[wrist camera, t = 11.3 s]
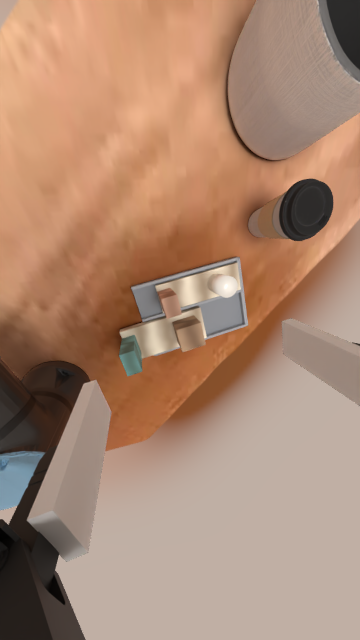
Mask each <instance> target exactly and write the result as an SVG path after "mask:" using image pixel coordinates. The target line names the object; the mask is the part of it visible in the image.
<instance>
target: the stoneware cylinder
mask: <svg viewBox="0 0 360 640" xmlns="http://www.w3.org/2000/svg"><path fill="white" fill-rule="evenodd" d="M207 285H208V288H209V290H210V291H212V292H214V293H216V294H218V295H220V296H222V297H224V298H228V297H231V296H233V295H234V294H235V293H236V291H237V288H238V284H237V281H236V279H235V278H234V277H231V276H227V275H223V274H218V273H217V274H213V275H212V276H210V278H209V279H208V283H207Z"/></svg>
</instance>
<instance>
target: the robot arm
mask: <svg viewBox="0 0 360 640" xmlns="http://www.w3.org/2000/svg"><path fill="white" fill-rule="evenodd" d="M282 338H283V354H284V355H285V356H287V357H288V358H290V359H291V360H293V361H294V362H296V363H297V364H298V365H300V366H301V367H303V368H304V369H306V370H307V371H309V372H310V373H312V374H313V375H315V376H316V377H318V378H319V379H321V380H322V381H324V382H325V383H327V384H328V385H330V386H331V387H332V388H334V389H335V390H337V391H338V392H340V393H341V394H343V395H344V396H346V397H347V398H349V399H350V400H352V401H353V402H355V403H356V404H358V405H359V406H360V344H357V343H351V342H348V341H346V340H343V339H341V338H339V337H336V336H334V335H331V334H329V333H326V332H324V331H321V330H319V329H316V328H314V327H312V326H309V325H306V324H304V323H302V322H299V321H297V320H294V319H292V318H291V319H288V320H285V321H282ZM0 358H1V357H0ZM110 418H111V410H110V408H109V406H108V404H107V402H106V399H105V397H104V395H103V393H102V391H101V389H100V387H99V385H98V383H97V380H94V381H91V382H90V380H89V378H88V376H87V375H86V373H85V372H84V371H83V370H82V369H80V368H79V367H77V366H75V365H73V364H70V363H67V362H62V361H51V362H45V363H42V364H40V365H37V366H36V367H34V368H33V369H31V370H30V371H29V372H28V373H27V374H26V375H25V377H24V378H23V379H22V381H20V380H19V379H18V378H17V377H16V376H15V374H14V373H13V372H12V371H11V370H10V369H9V368H8V367H7V365H6V364H5V363H4V362H3V361H2V360H1V359H0V510H4V509H8V508H12V507H14V506H17V505H18V506H17V508H16V511H15V513H14V515H13V517H12V519H11V521H10V523H9V525H8V524H7V523H6V522H5V521H4V520H2V519H0V640H85V637H84V635H83V633H82V630H81V628H80V625H79V623H78V621H77V619H76V616H75V614H74V611H73V609H72V606H71V604H70V601H69V599H68V596H67V594H66V592H65V589H64V587H63V584H62V582H61V580H60V577H59V575H58V573H57V572H56V571H55V568H56V564H57V560H58V556H59V555H60V556H61V557H62V558H63V559H64V560H65V561H66V562H67V561H70V560H72V559H74V558H77V557H79V556H82V555H84V554H86V553H88V551H89V544H90V538H91V532H92V527H93V520H94V515H95V508H96V502H97V496H98V490H99V484H100V478H101V472H102V466H103V460H104V454H105V448H106V442H107V436H108V430H109V424H110Z"/></svg>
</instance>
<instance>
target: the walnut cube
mask: <svg viewBox="0 0 360 640" xmlns="http://www.w3.org/2000/svg"><path fill="white" fill-rule="evenodd" d="M172 324H173V327H174V331H175V334H176V338H177V341H178V344H179V346H180V348H181V350H182V352H185V351H188V350H191V349H194V348H197V347H200V346H203V345H206V343H205V339H204V334H203V330H202V325H201V322H200V321H199V320H198V319H197V318H196V317H195V316H194V315H193V316H190V317H186V318H183V319H180V320H177V321H174V322H172Z"/></svg>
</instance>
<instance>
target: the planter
mask: <svg viewBox="0 0 360 640" xmlns="http://www.w3.org/2000/svg"><path fill="white" fill-rule="evenodd" d="M228 101H229V108H230V113H231V116H232V120H233V123H234V126H235V128H236V130H237V132H238V134H239V136H240V138H241V139H242V141H243V142H244V143H245V145H246V146H247V147H248V148H249V149H250V150H251V151H252V152H254V153H255V154H257V155H258V156H260V157H263V158H265V159H269V160H282V159H286V158H289V157H291V156H293V155H295V154H297V153H299V152H301V151H302V150H304V149H305V148H307V147H309V146H310V145H312V144H313V143H315V142H316V141H318V140H319V139H321V138H322V137H324V136H325V135H327V134H328V133H330V132H331V131H333V130H334V129H336V128H337V127H339V126H340V125H342V124H343V123H345V122H346V121H348V120H349V119H351V118H352V117H354V116H355V115H357V114H358V113H360V0H256V2H255V4H254V6H253V8H252V10H251V13H250V15H249V17H248V19H247V21H246V23H245V25H244V27H243V29H242V32H241V34H240V36H239V38H238V41H237V43H236V46H235V49H234V52H233V55H232V59H231V63H230V68H229V75H228Z"/></svg>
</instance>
